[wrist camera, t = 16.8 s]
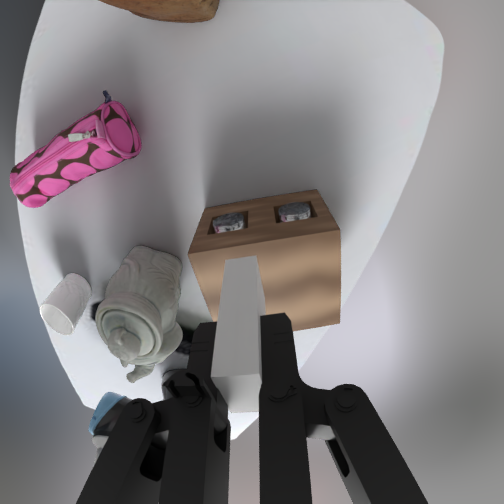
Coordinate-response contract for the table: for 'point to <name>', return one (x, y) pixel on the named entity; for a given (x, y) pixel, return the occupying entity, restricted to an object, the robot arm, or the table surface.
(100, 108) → the pencil case
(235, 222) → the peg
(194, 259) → the walnut block
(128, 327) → the teapot
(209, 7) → the block
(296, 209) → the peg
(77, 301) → the white cup
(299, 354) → the table surface
